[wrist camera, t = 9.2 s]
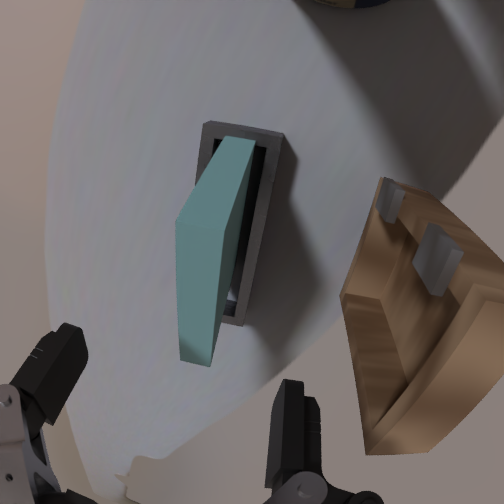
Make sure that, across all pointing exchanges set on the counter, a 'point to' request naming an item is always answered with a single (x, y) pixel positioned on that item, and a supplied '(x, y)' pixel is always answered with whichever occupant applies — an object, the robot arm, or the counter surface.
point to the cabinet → (420, 320)
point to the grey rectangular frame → (273, 142)
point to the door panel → (210, 247)
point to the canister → (352, 3)
